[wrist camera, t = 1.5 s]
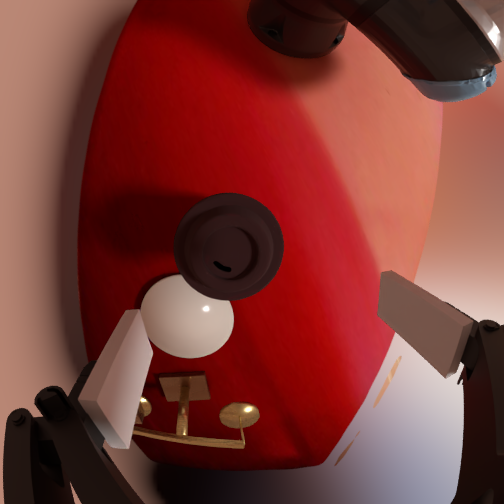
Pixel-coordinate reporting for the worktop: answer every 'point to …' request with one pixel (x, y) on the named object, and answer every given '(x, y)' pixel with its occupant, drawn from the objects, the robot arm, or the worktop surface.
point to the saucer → (185, 319)
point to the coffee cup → (228, 246)
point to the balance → (184, 390)
